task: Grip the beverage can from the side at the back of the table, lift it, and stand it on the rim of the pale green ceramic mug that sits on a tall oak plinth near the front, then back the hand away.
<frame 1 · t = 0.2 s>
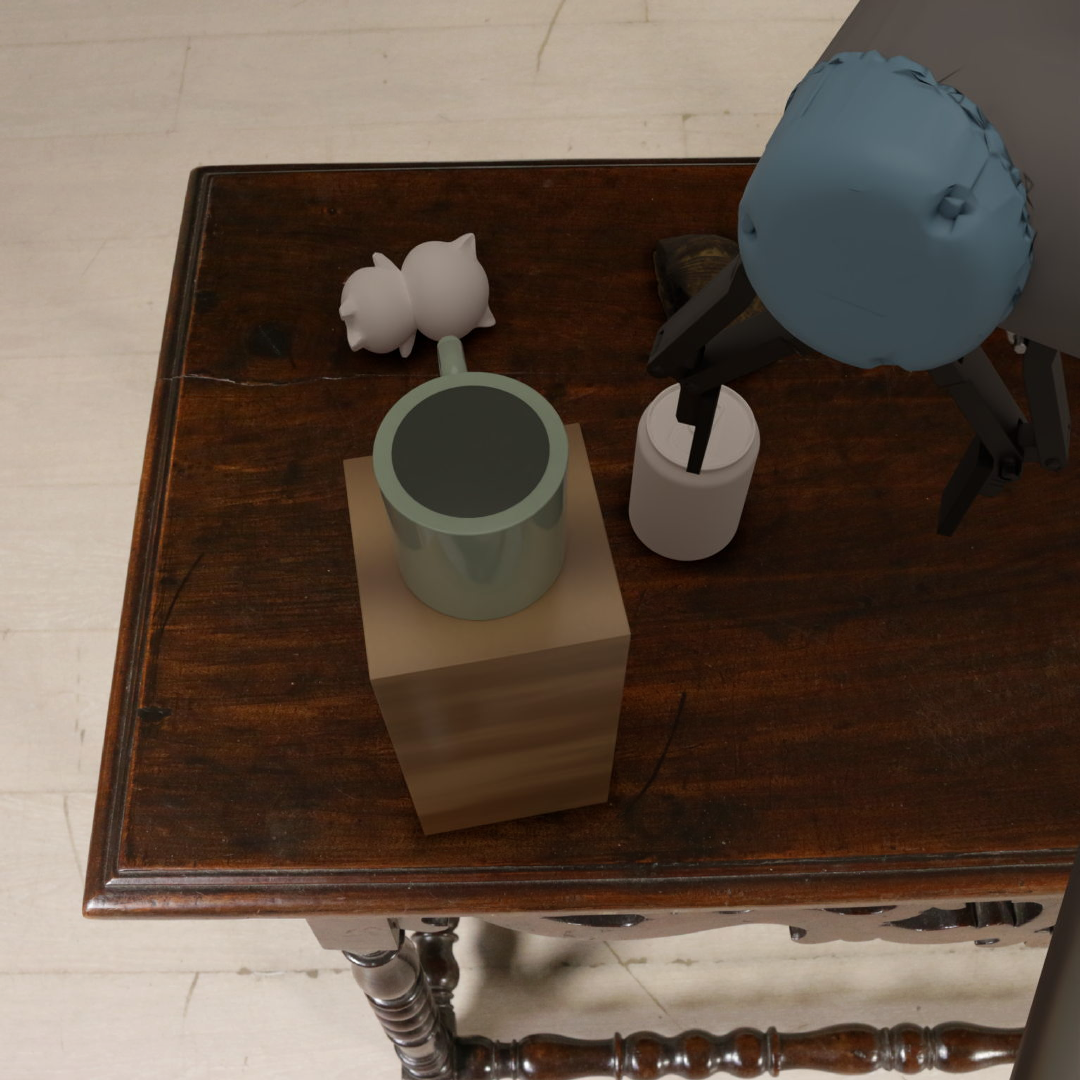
hand: (820, 484, 63), 21 cm above the table, tool pointing down, fingers open, 13 cm apart
figurine: (914, 298, 97), on the table
beverage can: (682, 518, 86), on the table
cat figurine: (416, 325, 96), on the table
mug: (480, 543, 56), resting on plinth
plinth: (501, 732, 78), on the table
seashell: (712, 319, 96), on the table
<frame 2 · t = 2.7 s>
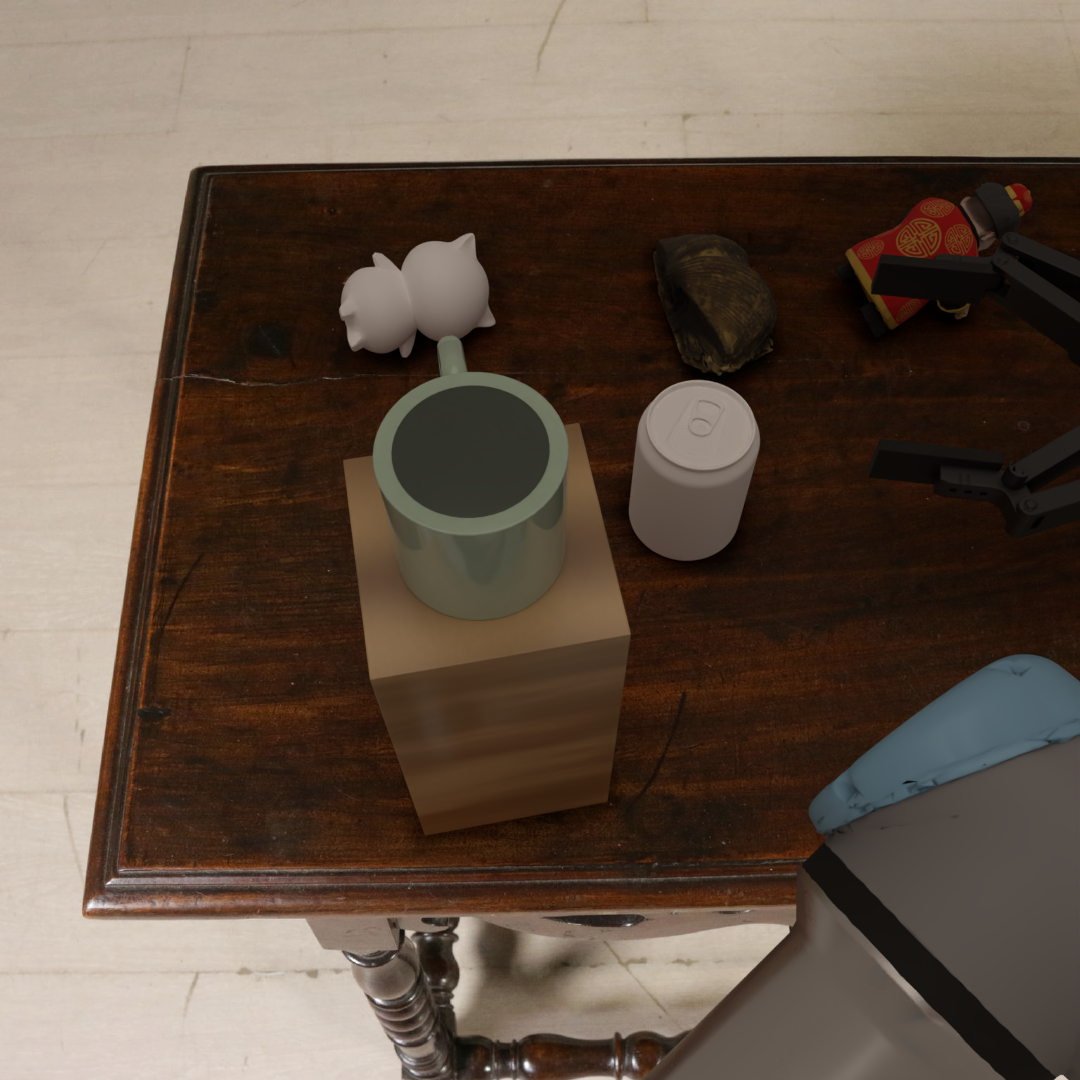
hand: (874, 361, 67), 21 cm above the table, tool horizontal, fingers open, 13 cm apart
nothing on the table moved.
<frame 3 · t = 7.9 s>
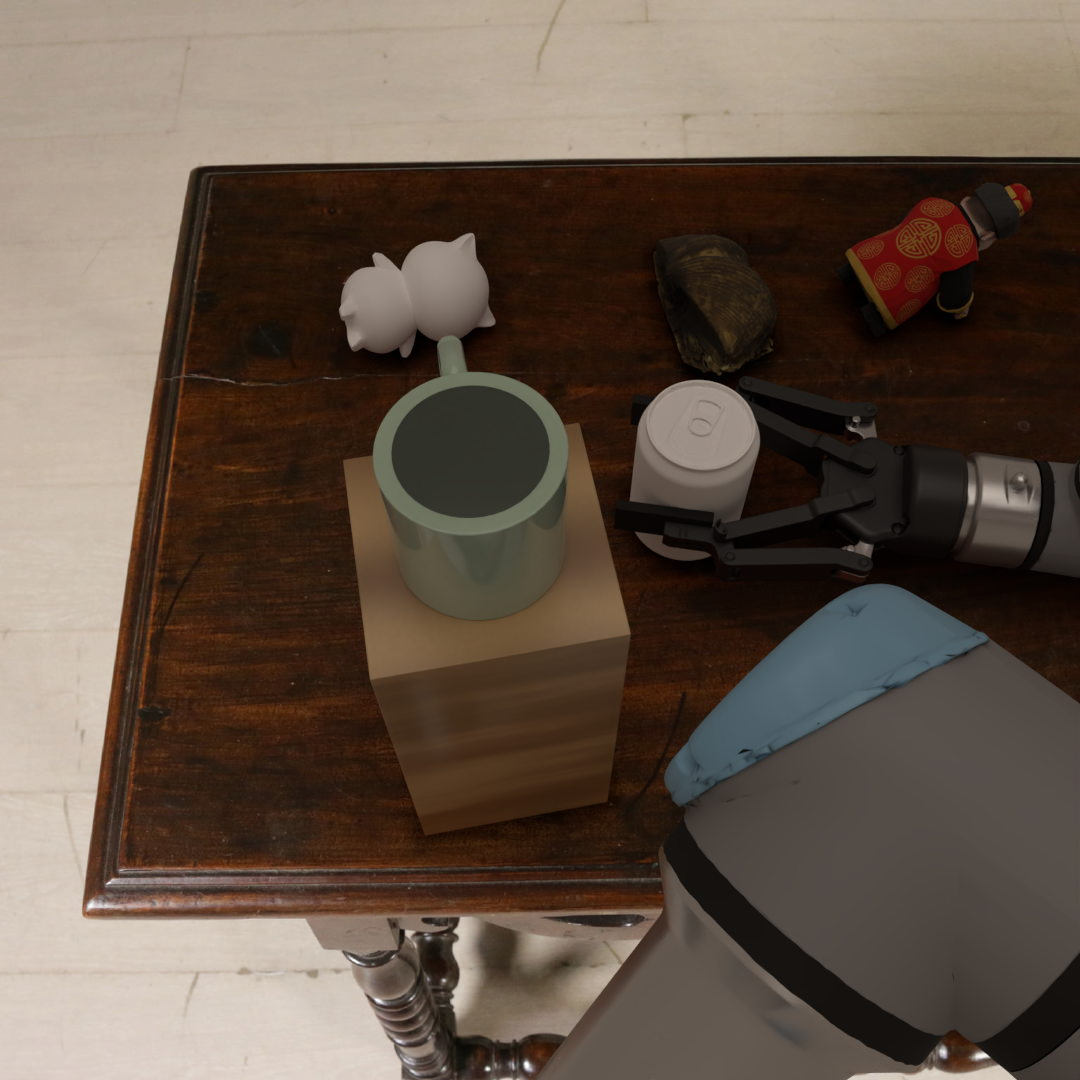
hand: (624, 460, 81), 6 cm above the table, tool horizontal, fingers closed on beverage can, 8 cm apart
beverage can: (682, 518, 86), on the table, touching gripper
everything else where it was.
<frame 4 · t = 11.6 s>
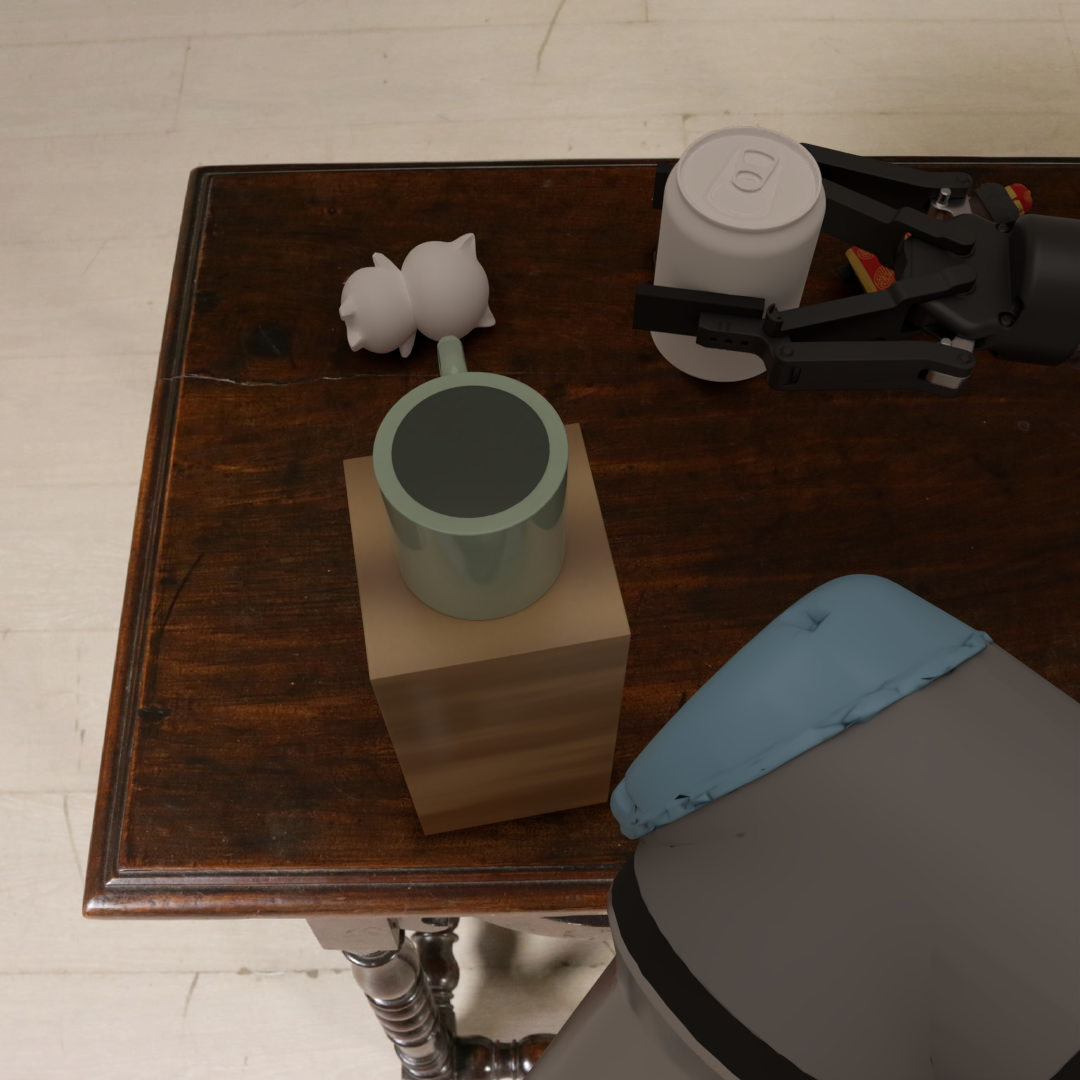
hand: (645, 243, 63), 28 cm above the table, tool horizontal, fingers closed on beverage can, 8 cm apart
beverage can: (717, 335, 68), point 21 cm above the table, touching gripper
everything else where it was.
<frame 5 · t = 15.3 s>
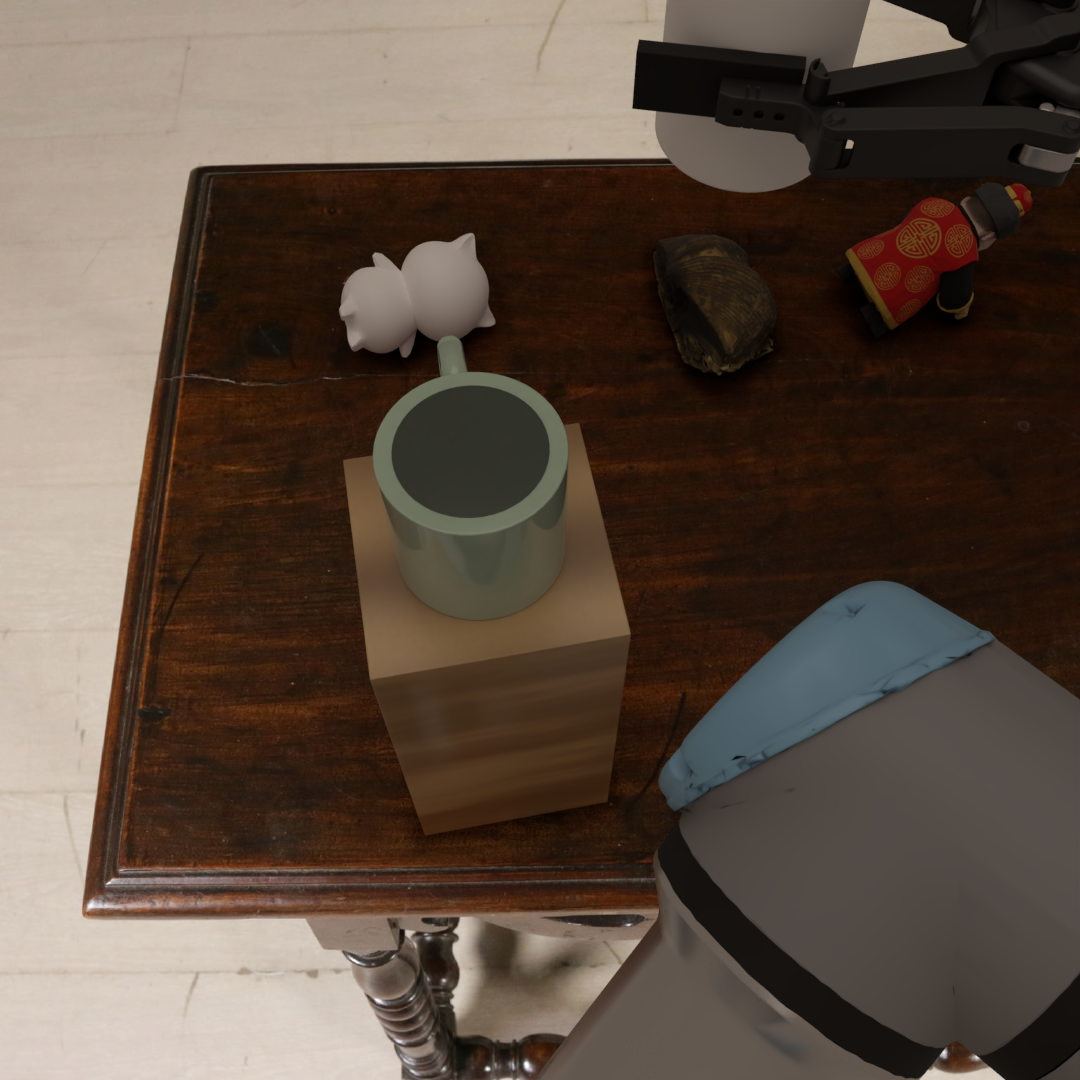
hand: (649, 4, 49), 43 cm above the table, tool horizontal, fingers closed on beverage can, 8 cm apart
beverage can: (740, 143, 54), point 36 cm above the table, touching gripper
everything else where it was.
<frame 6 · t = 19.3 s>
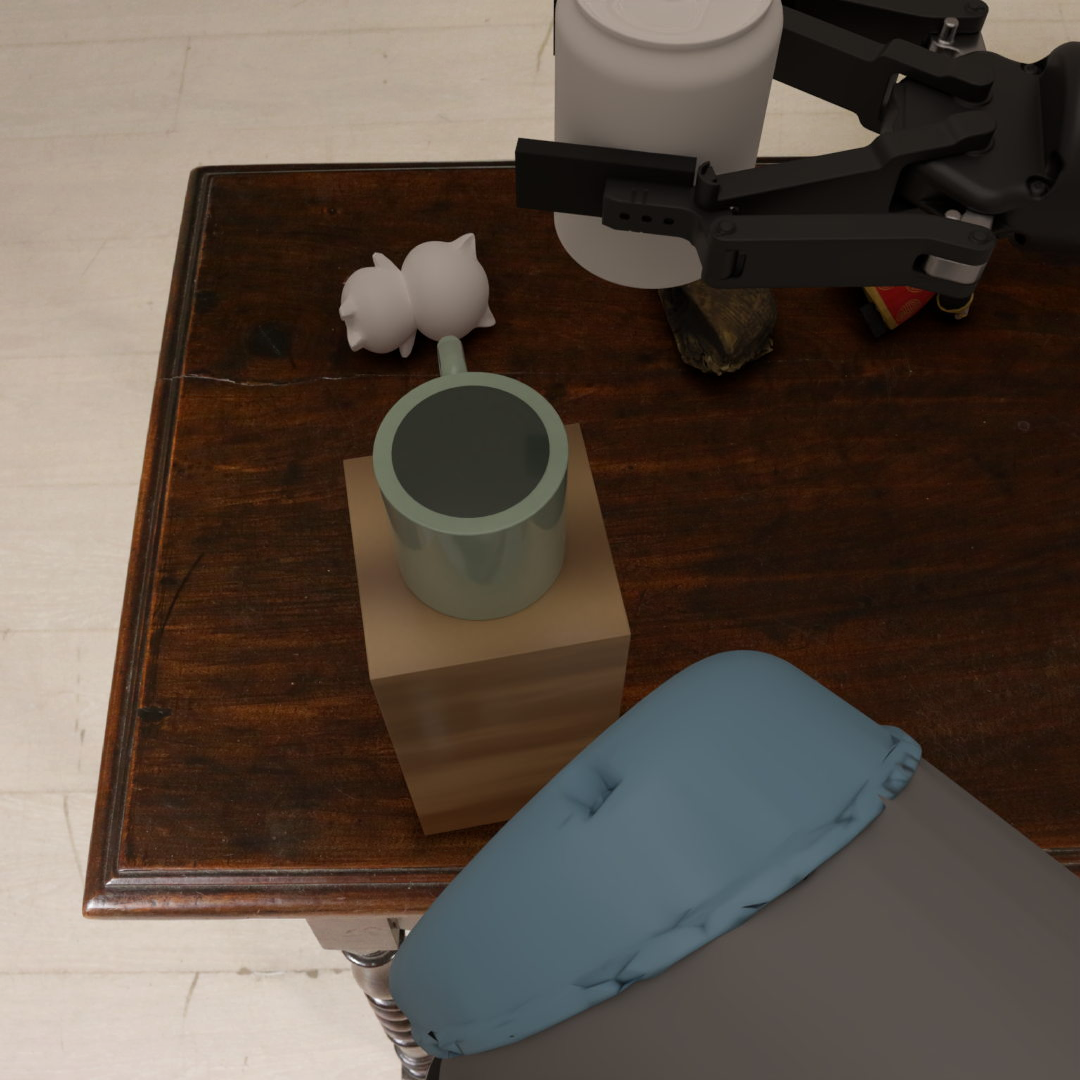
hand: (537, 93, 45), 43 cm above the table, tool horizontal, fingers closed on beverage can, 8 cm apart
beverage can: (646, 231, 51), point 37 cm above the table, touching gripper
everything else where it was.
when the fingers open (40 cm above the table, at t = 22.7 s): beverage can stays where it is, resting on mug.
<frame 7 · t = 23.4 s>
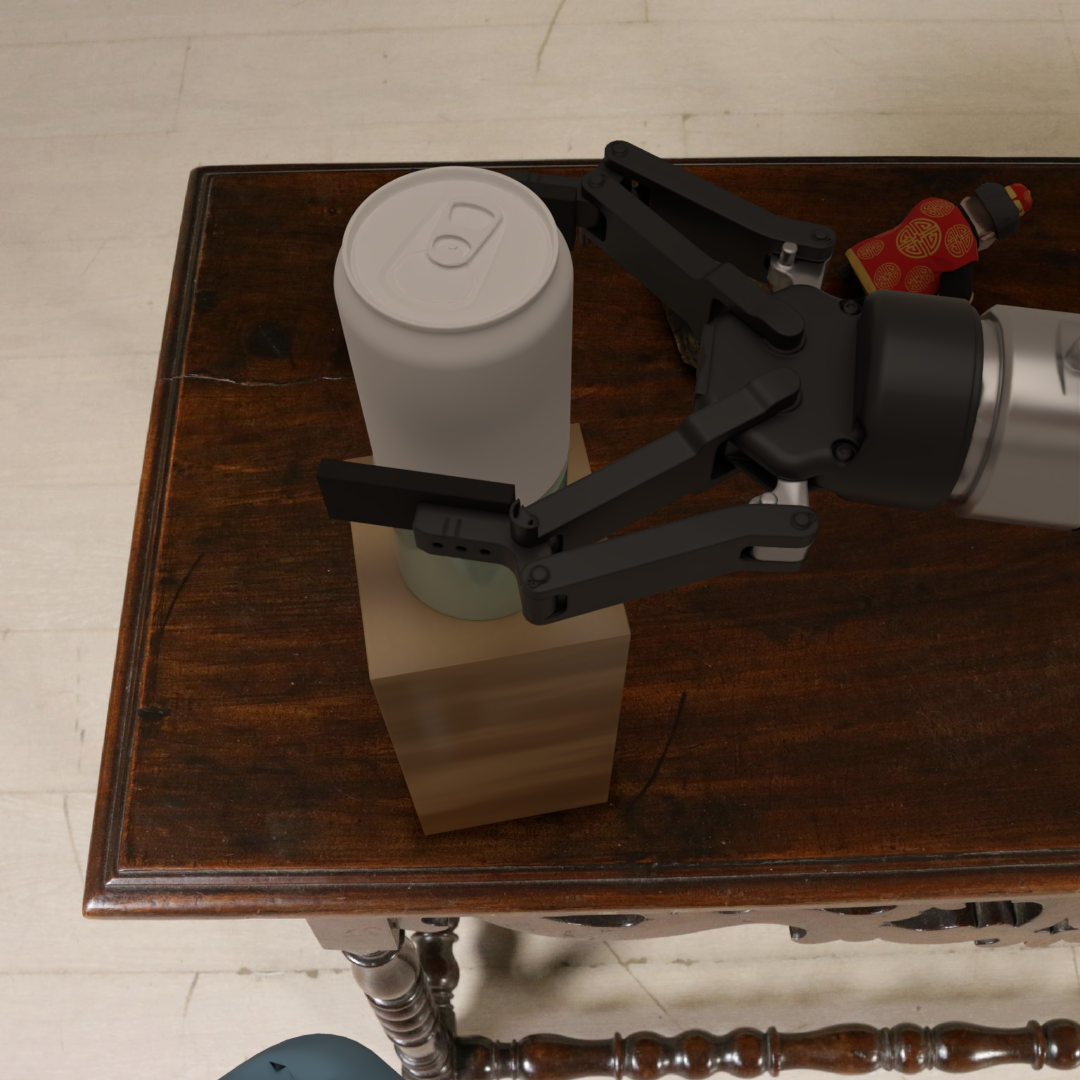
hand: (371, 333, 43), 41 cm above the table, tool horizontal, fingers open, 13 cm apart
beverage can: (472, 450, 49), point 34 cm above the table, touching mug
everything else where it was.
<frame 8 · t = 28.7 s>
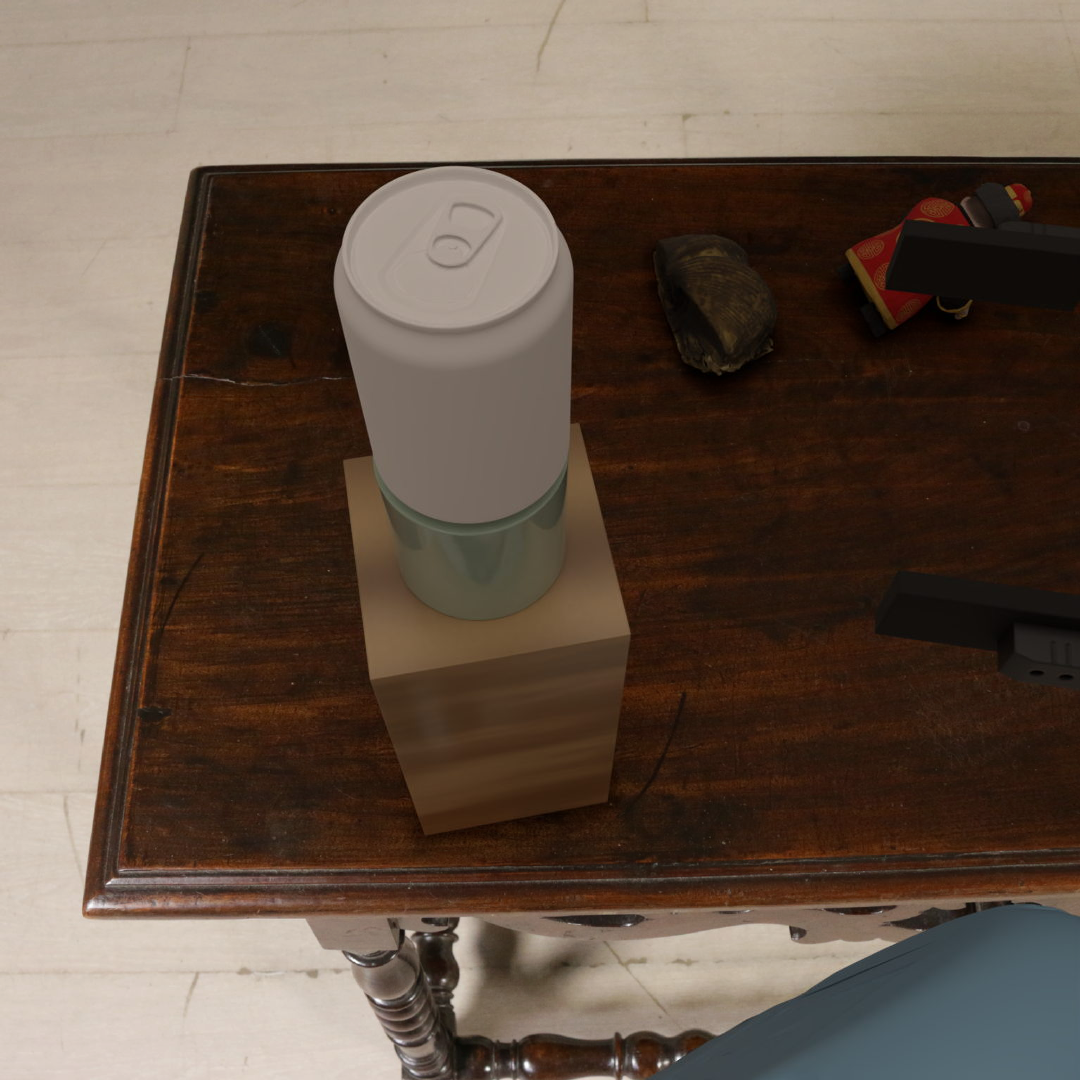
hand: (889, 413, 37), 44 cm above the table, tool horizontal, fingers open, 13 cm apart
nothing on the table moved.
at the end: beverage can 0.1 cm off-centre on the mug, point 7.9 cm above the mug's base; beverage can tilted 0°; the gripper is holding nothing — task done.
